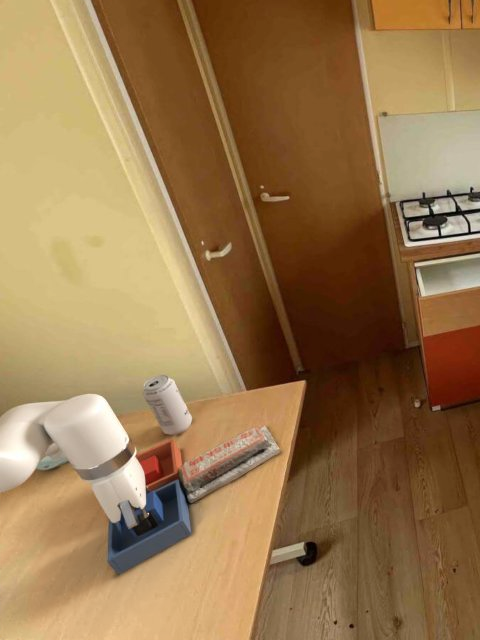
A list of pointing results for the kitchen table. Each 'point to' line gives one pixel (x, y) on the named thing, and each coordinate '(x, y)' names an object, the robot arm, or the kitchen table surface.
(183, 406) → the energy drink can
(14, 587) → the kitchen table surface
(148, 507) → the blue block
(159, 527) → the blue bin
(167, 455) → the terracotta bin
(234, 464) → the packaged product
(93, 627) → the kitchen table surface
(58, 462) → the pacifier
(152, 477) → the red block
